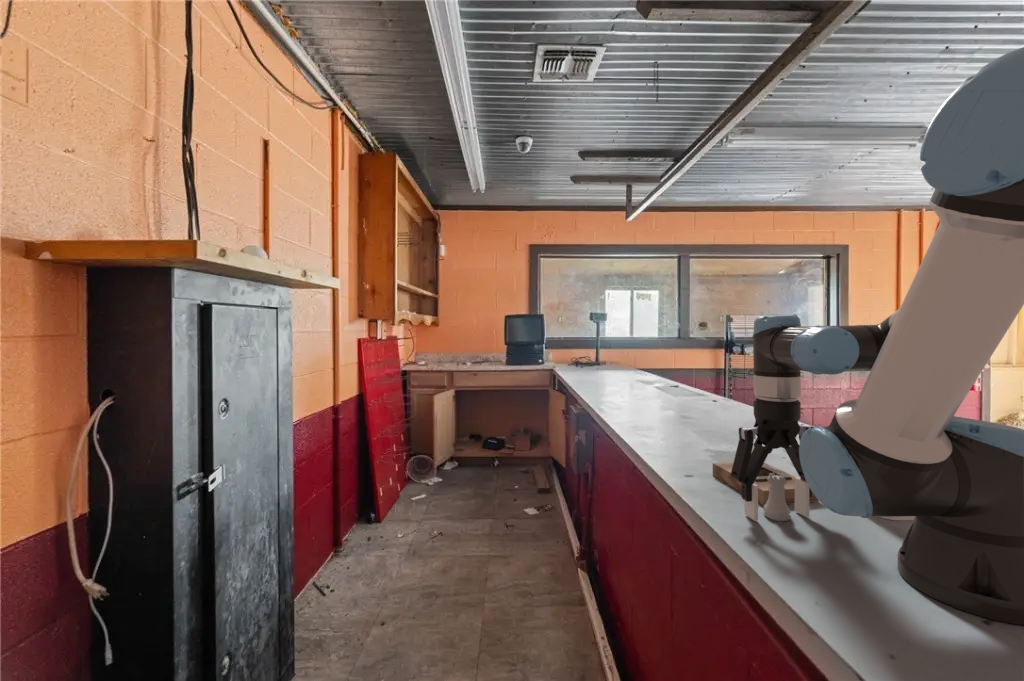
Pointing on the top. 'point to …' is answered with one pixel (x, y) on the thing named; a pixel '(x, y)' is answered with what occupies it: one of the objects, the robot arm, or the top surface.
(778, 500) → the rook chess piece
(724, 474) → the socket board
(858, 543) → the top surface
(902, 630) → the top surface
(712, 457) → the top surface
